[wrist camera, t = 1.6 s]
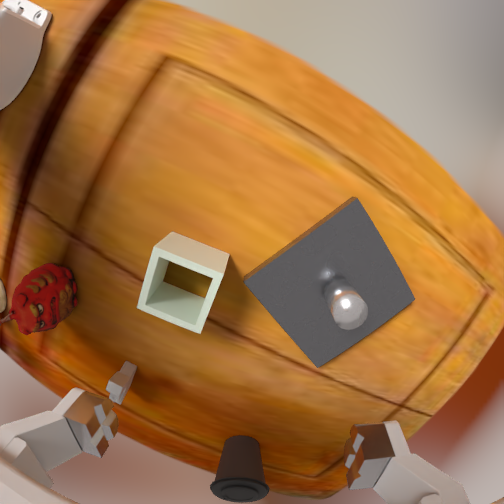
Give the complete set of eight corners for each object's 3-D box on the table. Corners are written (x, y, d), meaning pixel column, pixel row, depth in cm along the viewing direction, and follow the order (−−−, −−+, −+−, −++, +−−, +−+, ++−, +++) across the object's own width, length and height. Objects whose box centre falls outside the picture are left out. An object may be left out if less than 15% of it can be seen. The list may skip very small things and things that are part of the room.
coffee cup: (207, 448, 40) (199, 497, 30) (230, 423, 38) (226, 478, 28) (251, 462, 41) (250, 510, 31) (278, 439, 39) (281, 491, 29)
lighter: (130, 385, 36) (111, 423, 28) (119, 379, 36) (98, 417, 28) (143, 351, 34) (121, 390, 27) (131, 344, 34) (106, 383, 27)
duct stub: (243, 276, 31) (241, 303, 25) (352, 196, 29) (376, 204, 23) (315, 360, 34) (325, 395, 28) (409, 294, 32) (436, 318, 26)
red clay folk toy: (82, 318, 33) (18, 387, 19) (43, 305, 33) (-24, 361, 19) (79, 263, 31) (-2, 319, 17) (38, 253, 31) (-43, 298, 17)
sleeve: (155, 284, 32) (136, 308, 26) (172, 231, 30) (153, 246, 24) (209, 305, 32) (200, 334, 27) (229, 254, 31) (223, 274, 25)
